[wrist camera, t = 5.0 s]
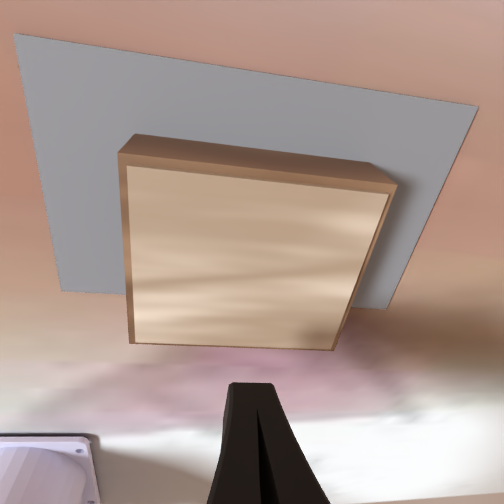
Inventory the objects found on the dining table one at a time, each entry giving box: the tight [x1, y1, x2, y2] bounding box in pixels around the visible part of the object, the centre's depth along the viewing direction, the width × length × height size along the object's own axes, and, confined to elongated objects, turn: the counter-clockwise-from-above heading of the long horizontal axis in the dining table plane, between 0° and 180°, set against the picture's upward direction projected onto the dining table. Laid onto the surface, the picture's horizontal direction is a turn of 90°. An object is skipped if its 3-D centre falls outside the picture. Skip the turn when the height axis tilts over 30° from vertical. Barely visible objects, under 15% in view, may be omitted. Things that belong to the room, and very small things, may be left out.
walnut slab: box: [117, 133, 398, 351], centre depth 14 cm, size 3×9×8 cm
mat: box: [13, 33, 478, 309], centre depth 14 cm, size 10×16×1 cm, turn 82°
